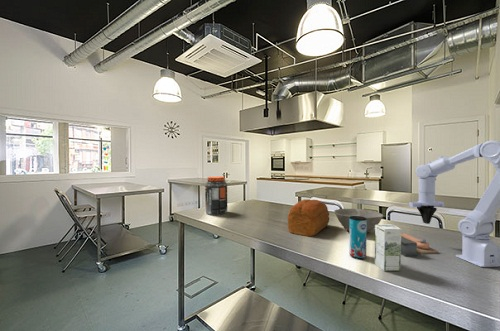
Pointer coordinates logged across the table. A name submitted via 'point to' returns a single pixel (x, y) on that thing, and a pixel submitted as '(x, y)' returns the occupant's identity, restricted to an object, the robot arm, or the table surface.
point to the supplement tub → (216, 196)
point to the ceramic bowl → (371, 216)
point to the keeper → (408, 247)
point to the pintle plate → (426, 251)
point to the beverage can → (358, 237)
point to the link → (417, 241)
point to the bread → (308, 217)
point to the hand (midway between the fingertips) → (426, 223)
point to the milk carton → (388, 247)
